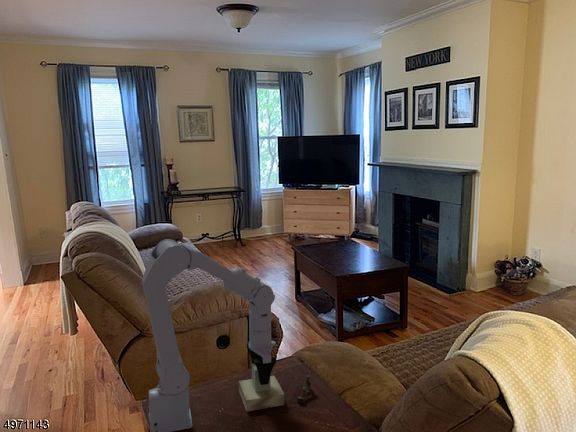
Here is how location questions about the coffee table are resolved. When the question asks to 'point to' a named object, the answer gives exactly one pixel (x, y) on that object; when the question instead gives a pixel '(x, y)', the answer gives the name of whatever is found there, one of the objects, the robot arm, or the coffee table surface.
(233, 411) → the coffee table surface
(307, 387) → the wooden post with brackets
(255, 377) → the sage block
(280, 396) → the beige flat square block
